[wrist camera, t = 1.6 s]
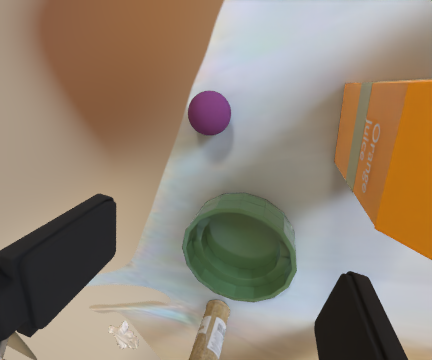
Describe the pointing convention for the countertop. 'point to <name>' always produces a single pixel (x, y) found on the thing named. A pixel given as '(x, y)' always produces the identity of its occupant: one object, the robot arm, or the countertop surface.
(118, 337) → the acanthus leaf ornament
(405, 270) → the countertop surface
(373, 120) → the orange juice
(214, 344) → the sprinkles bottle
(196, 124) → the ball
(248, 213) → the bowl
